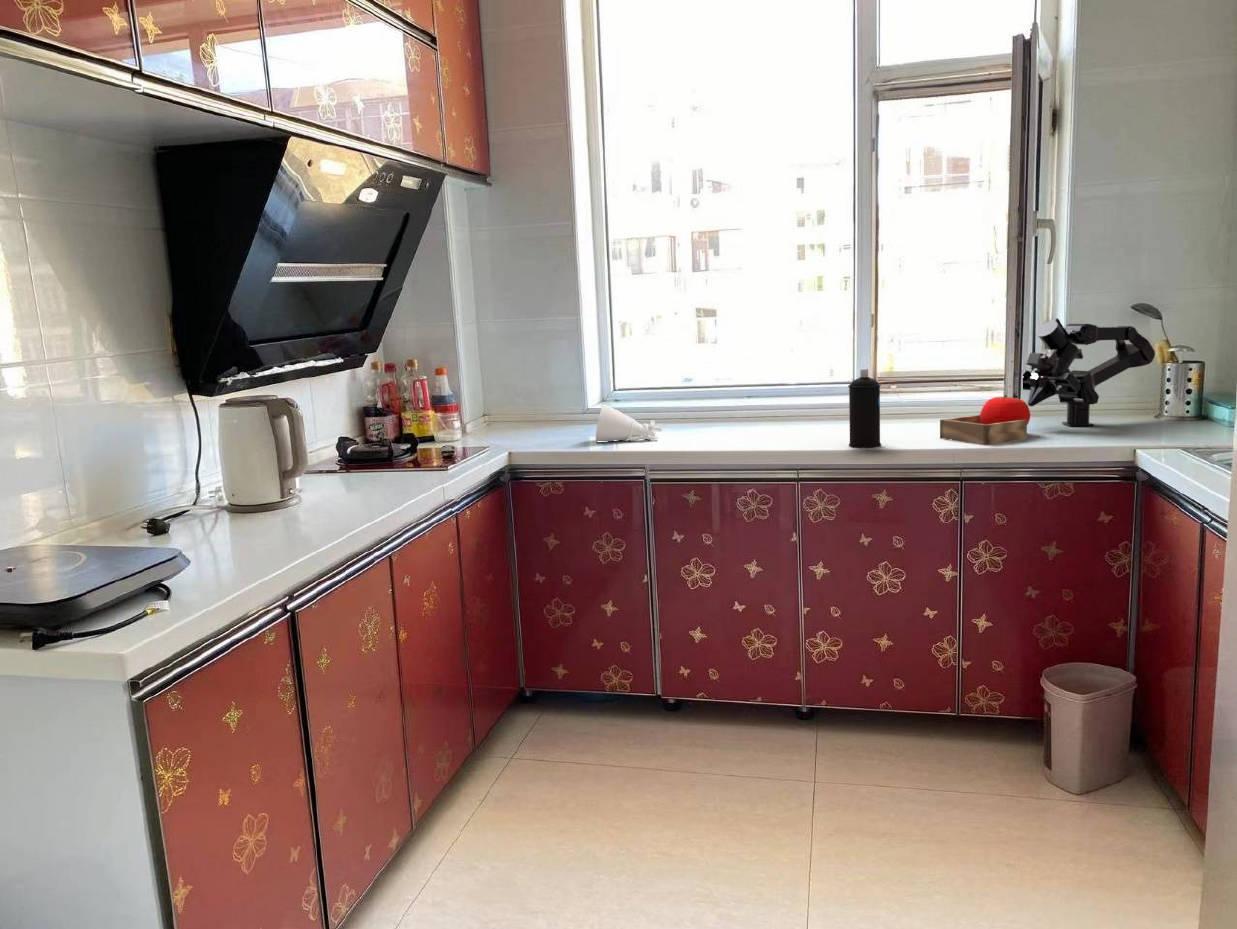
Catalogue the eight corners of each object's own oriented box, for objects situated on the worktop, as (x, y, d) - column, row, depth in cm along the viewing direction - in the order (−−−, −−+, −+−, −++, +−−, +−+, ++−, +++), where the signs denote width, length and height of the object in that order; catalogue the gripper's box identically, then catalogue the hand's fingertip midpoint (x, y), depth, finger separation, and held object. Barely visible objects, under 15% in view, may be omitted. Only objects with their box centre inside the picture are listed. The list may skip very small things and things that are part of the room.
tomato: (970, 433, 260) (973, 394, 258) (1006, 431, 264) (1009, 393, 263) (1000, 437, 250) (1003, 396, 248) (1037, 436, 254) (1040, 396, 252)
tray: (979, 432, 264) (979, 414, 263) (1026, 438, 250) (1026, 419, 249) (939, 438, 258) (940, 419, 257) (985, 444, 244) (986, 425, 243)
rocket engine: (665, 407, 280) (604, 395, 281) (658, 436, 273) (596, 425, 274) (661, 432, 289) (603, 422, 290) (655, 462, 282) (595, 450, 283)
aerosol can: (861, 449, 247) (860, 371, 244) (842, 445, 255) (841, 369, 251) (887, 445, 250) (887, 368, 247) (868, 442, 258) (867, 367, 254)
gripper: (1017, 341, 267) (987, 384, 265) (1074, 342, 251) (1043, 388, 248) (1037, 367, 272) (1008, 409, 269) (1094, 369, 255) (1064, 415, 252)
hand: (1029, 405), depth 260 cm, fingers closed
